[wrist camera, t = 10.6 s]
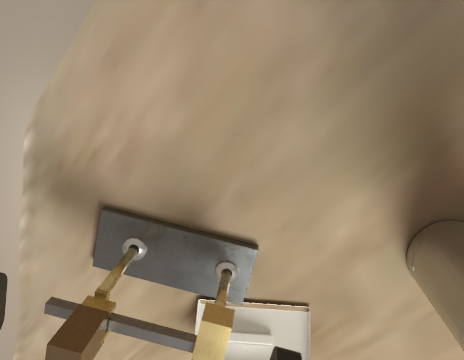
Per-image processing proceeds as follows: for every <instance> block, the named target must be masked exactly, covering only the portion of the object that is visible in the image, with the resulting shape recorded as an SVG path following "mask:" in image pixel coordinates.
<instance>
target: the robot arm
mask: <svg viewBox="0 0 464 360" xmlns="http://www.w3.org/2000/svg"><path fill="white" fill-rule="evenodd" d="M407 264H408V269H409V271H410V273H411V275H412V276H413V278H414V279H415V280H416V282H417V283H418V285H419V286H420V288H421V289H422V291H423V292H424V294H425V295H426V297H427V298H428V300H429V301H430V303H431V304H432V305H433V307H434V308H435V310H436V311H437V313H438V314H439V316H440V317H441V318H442V320H443V321H444V323H445V324H446V326H447V327H448V329H449V330H450V332H451V333H452V334H453V336H454V337H455V339H456V340H457V342H458V343H459V345H460V346H461V348H462V349H463V350H464V222H461V221H453V220H448V221H440V222H437V223H434V224H431V225H430V226H428V227H426V228H424V229H423V230H422V231H420V232H419V233H418V234H417V235H416V236H415V238H414V239H413V240H412V242H411V244H410V246H409V249H408V252H407ZM6 292H7V276H6V274H4V273H0V329H1V327H2V324H3V321H4V316H5V303H6ZM270 360H302V356H301V353H300V352H296V351H293V350H289V349H285V348H281V347H277V346H275V347H274V349H273V351H272V354H271V357H270Z"/></svg>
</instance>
